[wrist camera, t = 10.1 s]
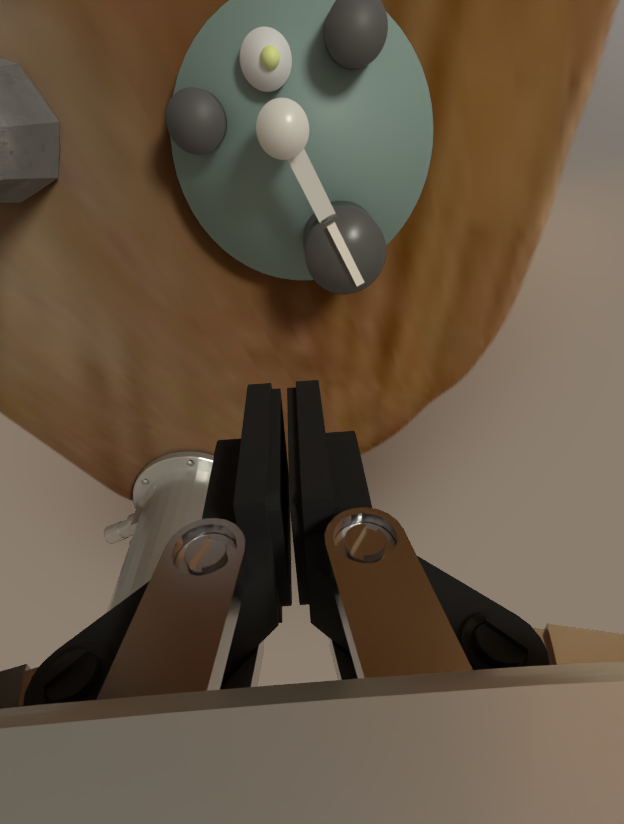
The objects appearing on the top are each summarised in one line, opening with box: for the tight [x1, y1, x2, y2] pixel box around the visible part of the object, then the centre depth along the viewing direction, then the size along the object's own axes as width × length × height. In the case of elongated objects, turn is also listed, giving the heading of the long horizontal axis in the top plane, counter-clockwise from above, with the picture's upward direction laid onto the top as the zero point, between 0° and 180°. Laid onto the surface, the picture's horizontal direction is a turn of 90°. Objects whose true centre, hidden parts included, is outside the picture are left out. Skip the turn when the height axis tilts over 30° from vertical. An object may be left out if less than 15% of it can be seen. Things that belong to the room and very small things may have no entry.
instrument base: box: [166, 0, 433, 280], centre depth 32 cm, size 18×18×4 cm
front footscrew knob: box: [256, 98, 386, 294], centre depth 31 cm, size 13×6×6 cm, turn 29°
